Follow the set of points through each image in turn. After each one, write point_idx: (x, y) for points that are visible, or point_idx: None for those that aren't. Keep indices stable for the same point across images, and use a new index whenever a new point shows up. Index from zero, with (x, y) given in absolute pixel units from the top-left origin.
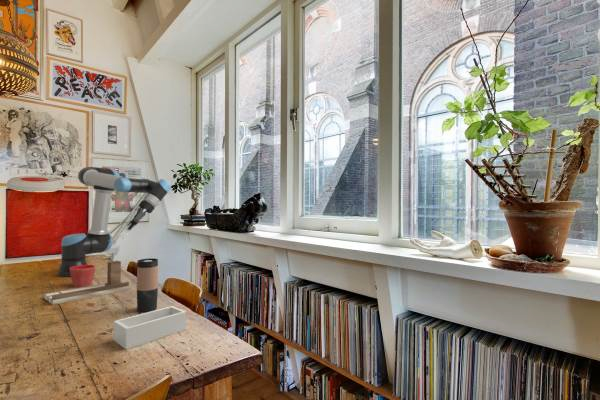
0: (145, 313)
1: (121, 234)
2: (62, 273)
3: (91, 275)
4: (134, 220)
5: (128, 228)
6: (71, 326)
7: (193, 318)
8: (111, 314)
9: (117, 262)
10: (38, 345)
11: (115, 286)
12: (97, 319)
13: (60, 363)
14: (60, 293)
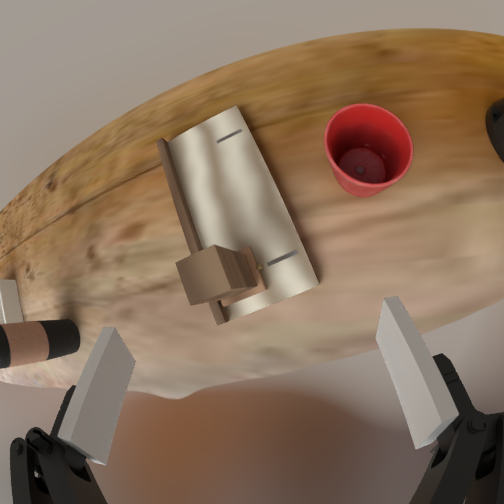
0: (4, 315)
1: (389, 328)
2: (489, 109)
3: (347, 186)
4: (17, 452)
5: (72, 391)
6: (53, 223)
7: (37, 378)
8: (68, 277)
9: (185, 290)
10: (31, 204)
11: None
12: (59, 256)
13: (5, 238)
14: (218, 140)
